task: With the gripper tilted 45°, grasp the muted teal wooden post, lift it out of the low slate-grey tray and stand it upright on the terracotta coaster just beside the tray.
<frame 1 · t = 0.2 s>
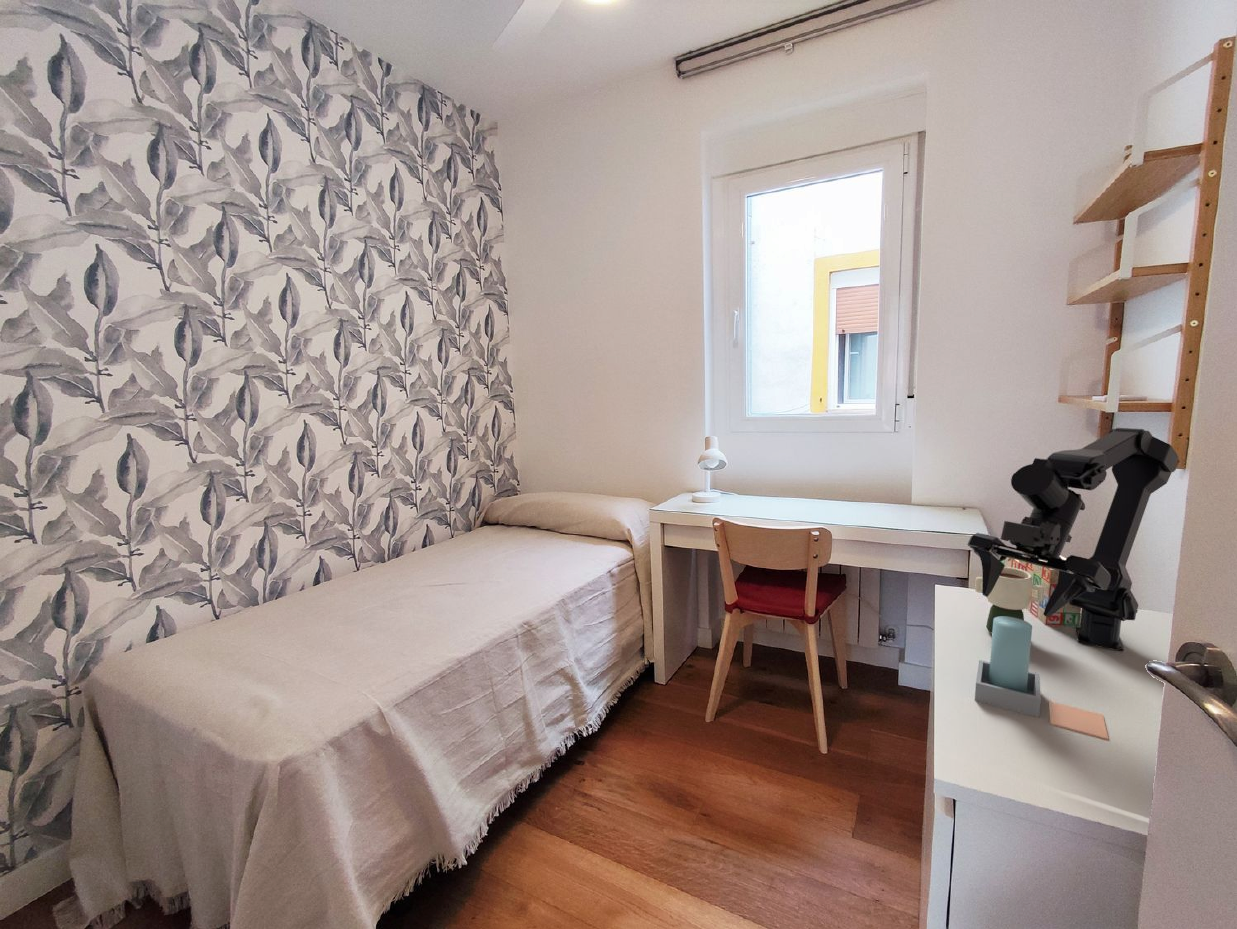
hand: (1013, 605, 89), 14 cm above the dresser top, tool tilted 35°, fingers open, 9 cm apart
teal post: (1006, 695, 87), resting on slate tray
stack of blocks: (1034, 605, 120), on the dresser top
terracotta coaster: (1076, 722, 81), on the dresser top
slate tray: (1006, 697, 88), on the dresser top
character mug: (1004, 635, 107), on the dresser top
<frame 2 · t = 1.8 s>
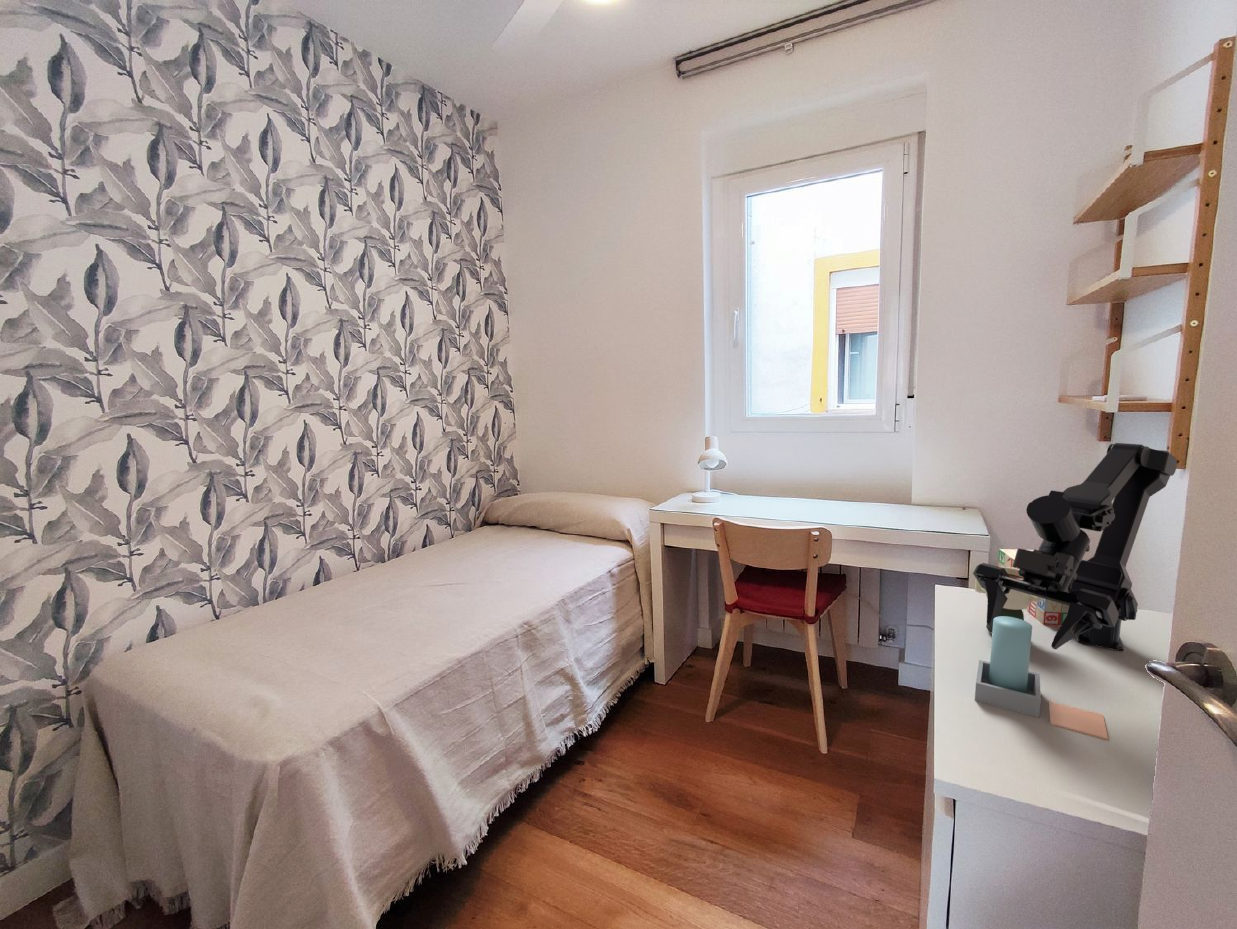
hand: (1019, 635, 87), 10 cm above the dresser top, tool tilted 45°, fingers open, 9 cm apart
nothing on the dresser top moved.
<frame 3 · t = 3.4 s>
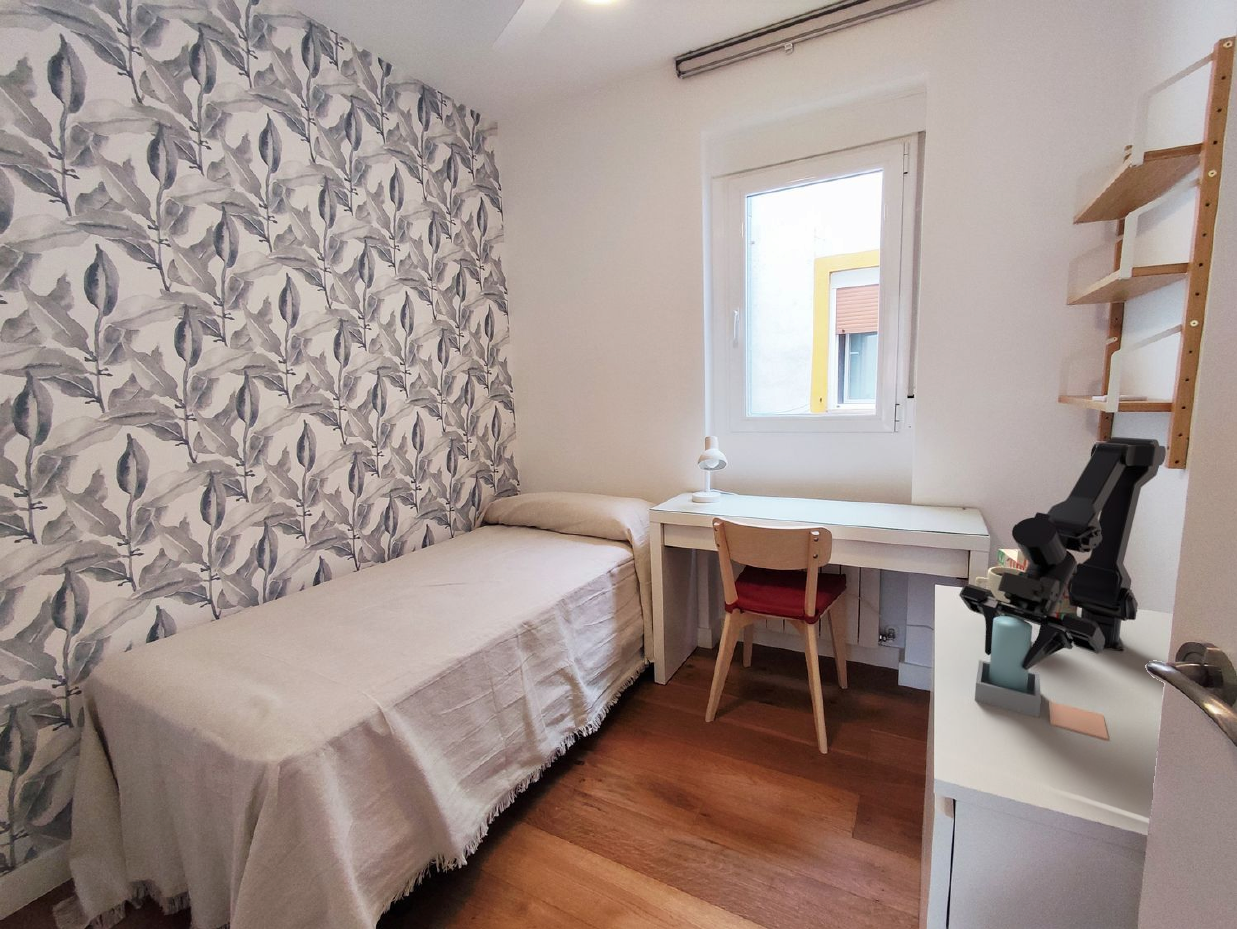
hand: (1005, 660, 86), 7 cm above the dresser top, tool tilted 45°, fingers closed on teal post, 5 cm apart
teal post: (1006, 695, 87), resting on slate tray, touching gripper
everything else where it was.
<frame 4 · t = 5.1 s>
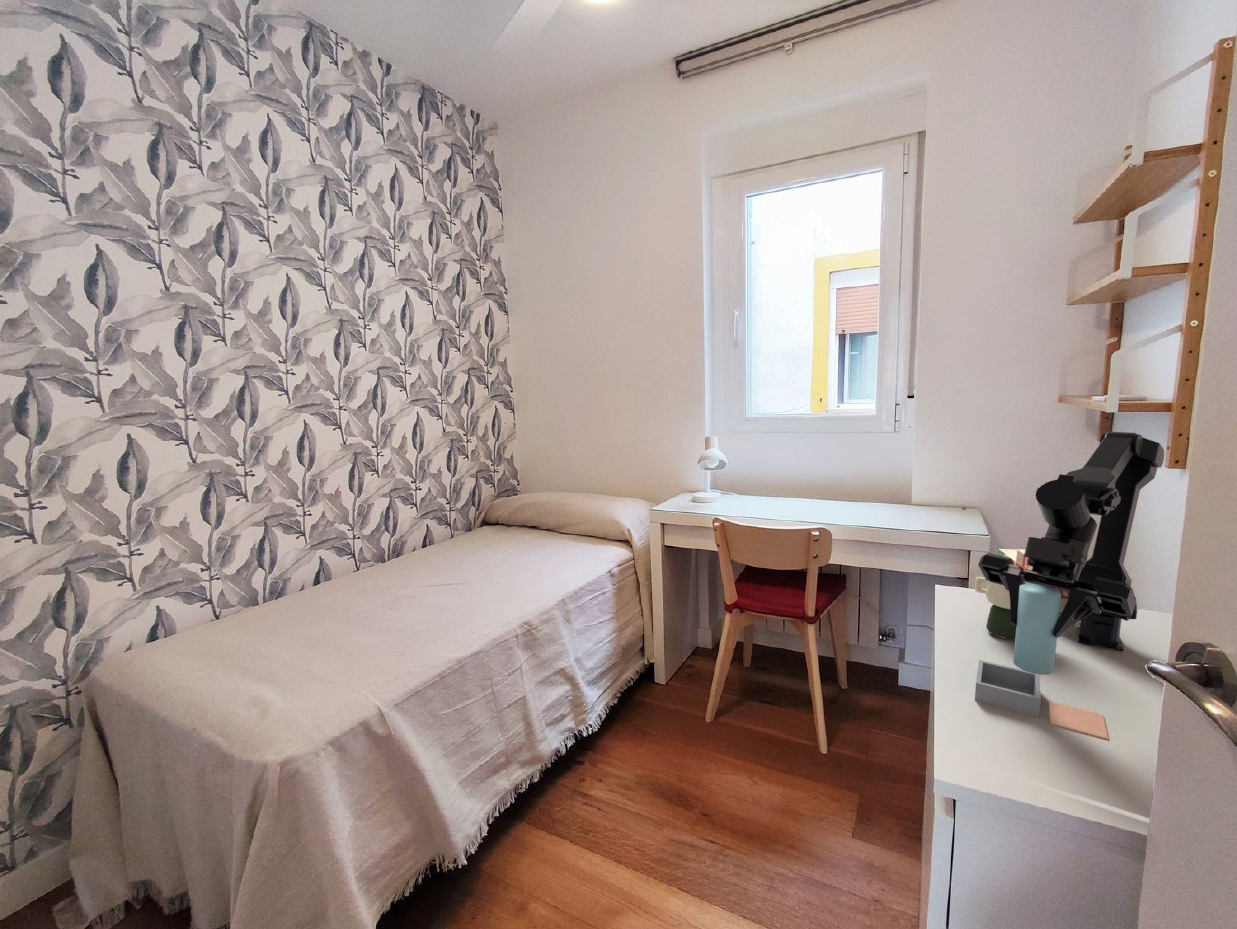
hand: (1033, 629, 82), 13 cm above the dresser top, tool tilted 45°, fingers closed on teal post, 5 cm apart
teal post: (1033, 665, 84), point 7 cm above the dresser top, touching gripper
everything else where it was.
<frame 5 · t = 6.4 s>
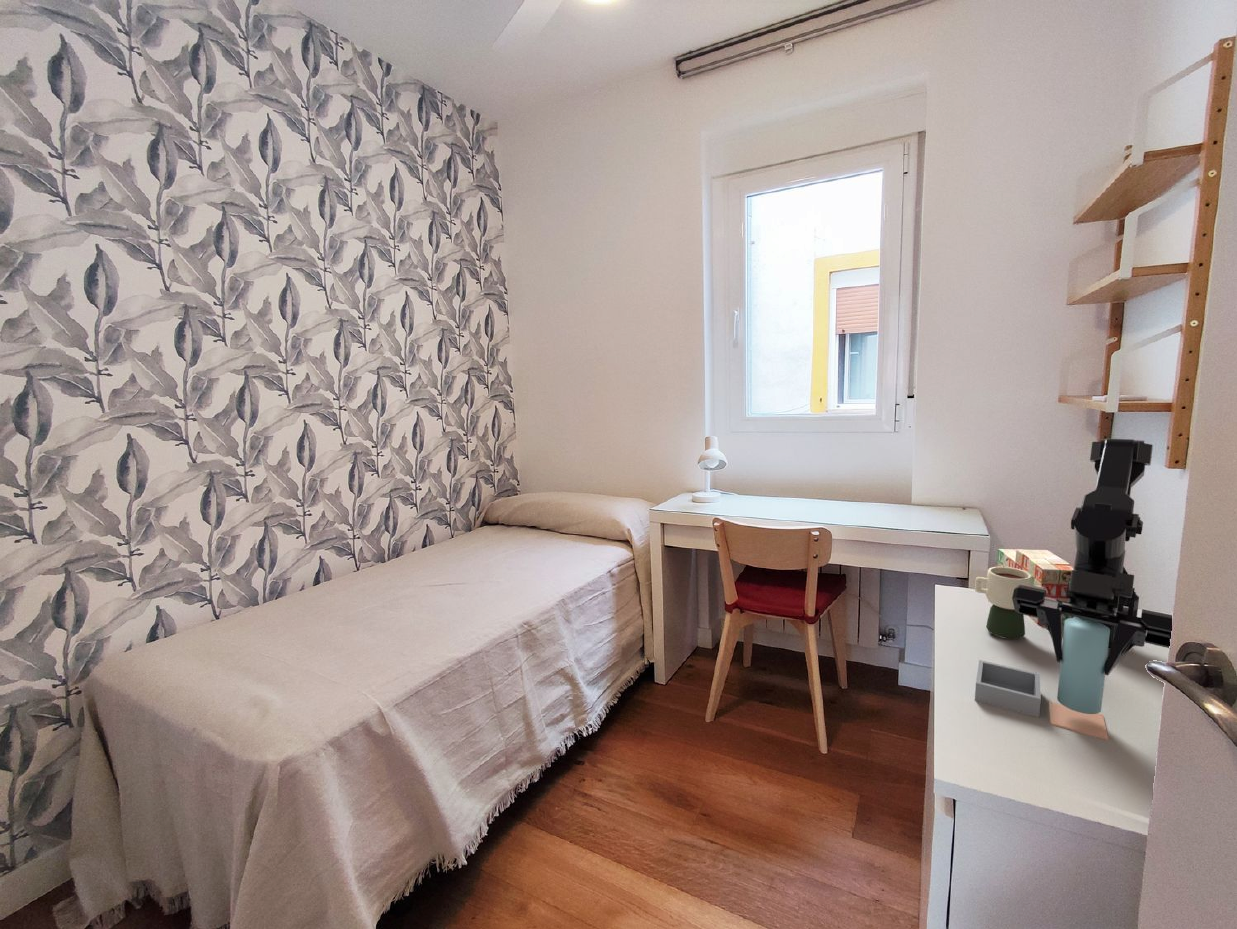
hand: (1081, 667, 78), 9 cm above the dresser top, tool tilted 45°, fingers closed on teal post, 5 cm apart
teal post: (1078, 703, 80), point 3 cm above the dresser top, touching gripper
everything else where it was.
when the fingers open (8 cm above the dresser top, at t = 7.0 s): teal post drops 1 cm, resting on terracotta coaster.
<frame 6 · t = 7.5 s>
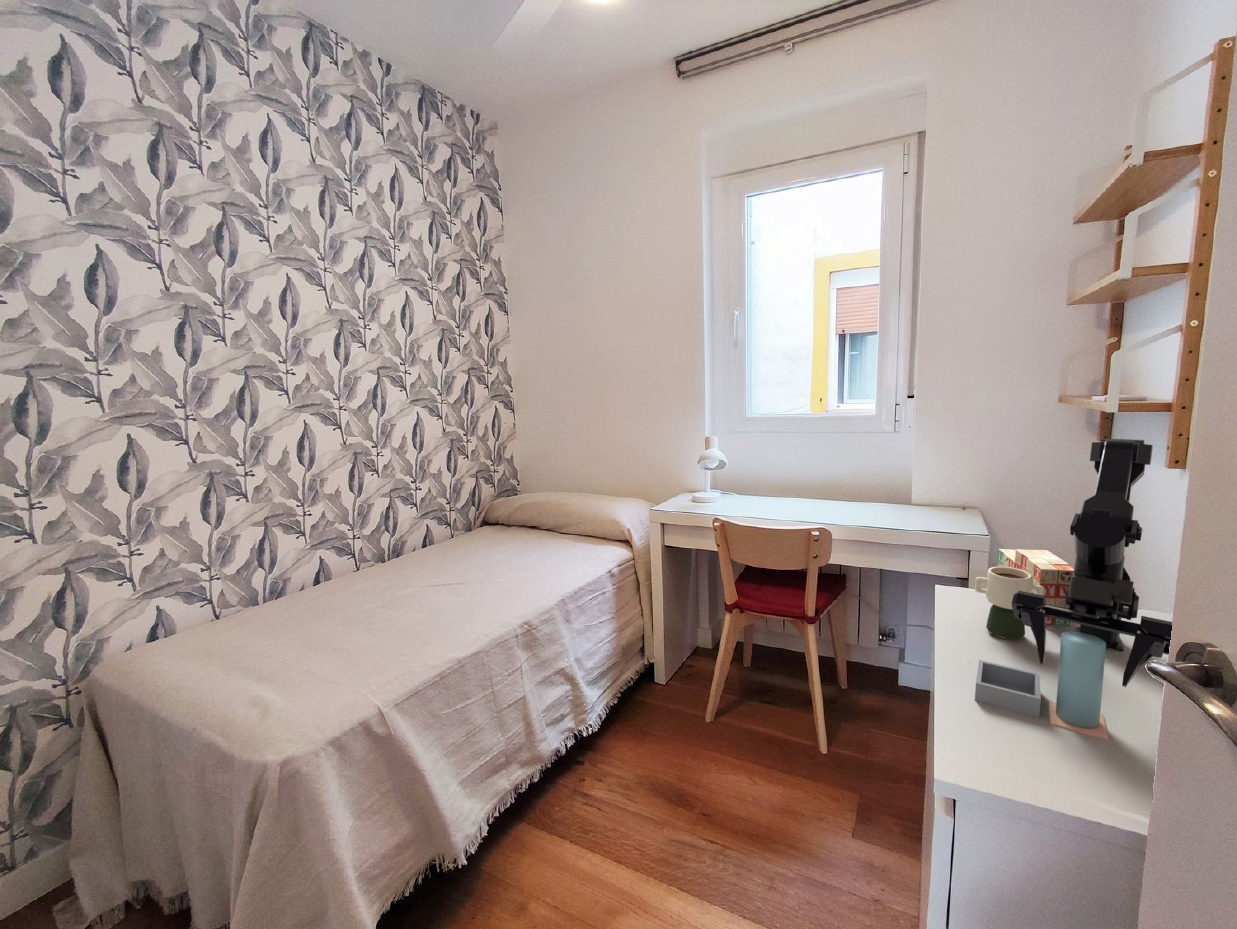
hand: (1081, 673, 79), 9 cm above the dresser top, tool tilted 45°, fingers open, 9 cm apart
teal post: (1077, 717, 81), point 1 cm above the dresser top, touching terracotta coaster
everything else where it was.
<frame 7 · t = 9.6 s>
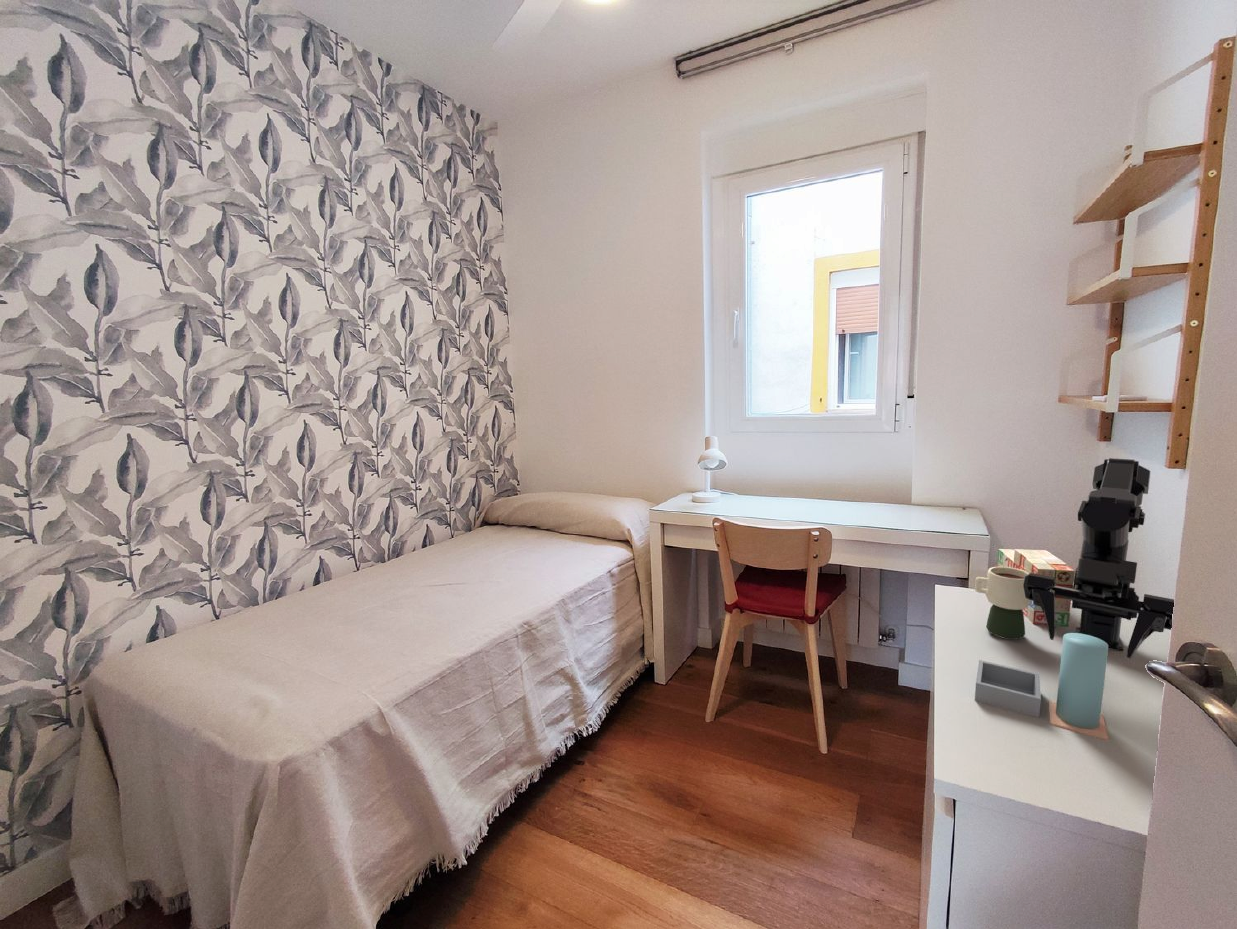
hand: (1088, 648, 85), 9 cm above the dresser top, tool tilted 45°, fingers open, 9 cm apart
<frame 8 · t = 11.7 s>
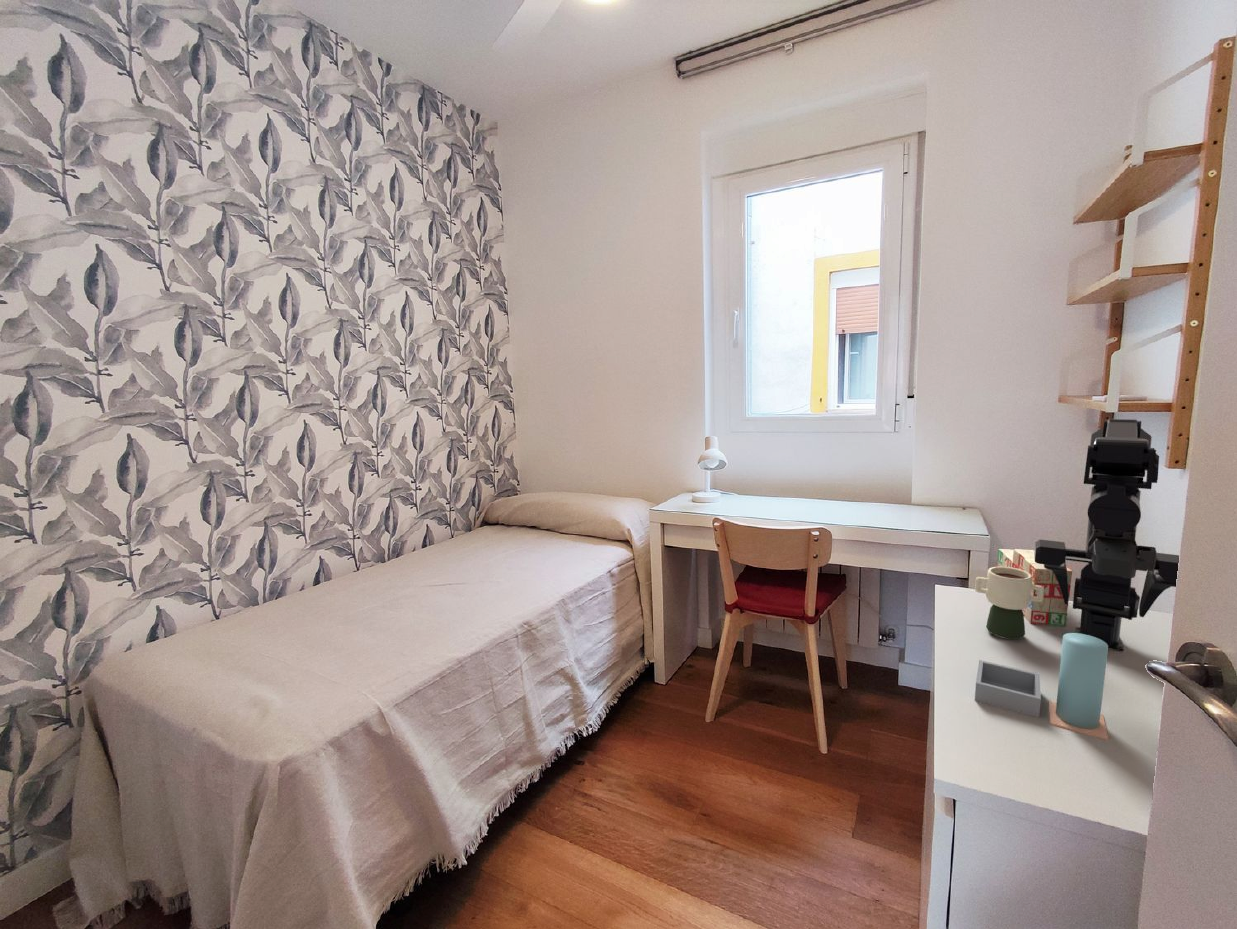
hand: (1102, 609, 88), 13 cm above the dresser top, tool pointing down, fingers open, 9 cm apart
at the end: teal post 0.1 cm from the terracotta coaster (horizontally); teal post tilted 0°; the gripper is holding nothing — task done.
